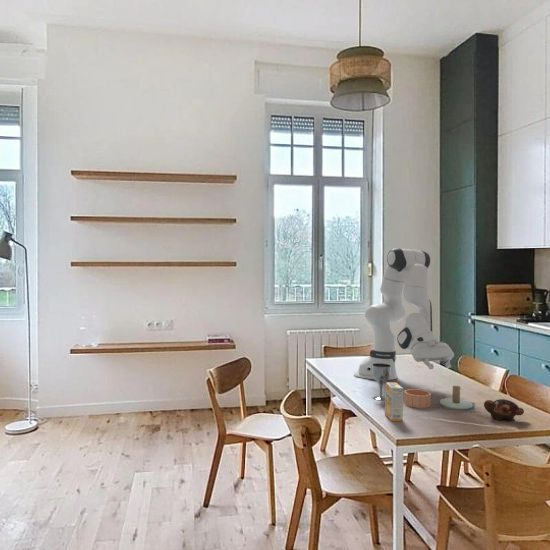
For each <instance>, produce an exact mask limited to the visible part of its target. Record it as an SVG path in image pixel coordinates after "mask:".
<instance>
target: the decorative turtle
mask: <svg viewBox="0 0 550 550" xmlns="http://www.w3.org/2000/svg"><path fill="white" fill-rule="evenodd" d="M483 408H484V409H485V410H486V412H488V413H489V414H490V416H491V417H493V418H494V419H495V420H496V421H498V422H500V421H503V420H504V419H505V420H506V421H508V422H513V420H514V419H515V417H516V416H522V415H524V412H525V410H524V408H522V407H519V405H518V404H517V403H515V402H513V401H512V400H510V399H504V398H500V399H499V398H498V399H496V400H492V399H487V400H485V401H484V403H483Z"/></svg>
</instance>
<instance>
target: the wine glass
mask: <svg viewBox="0 0 550 550" xmlns="http://www.w3.org/2000/svg"><path fill="white" fill-rule="evenodd" d="M372 370H373V376H374V378H375V379H376V380H375V381H376V383H378V386H379V395H375V396H372V399H373V400H375V401H379V402H380V401H381V402H382V401H384V402H385V395H383V393H382V392H383V386H384V385H385V384H386V383H387V381H389V380H388V378H389V376H390V371H391V365H389V364H384V363H374V364H373V365H372Z"/></svg>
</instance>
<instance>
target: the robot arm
mask: <svg viewBox="0 0 550 550" xmlns="http://www.w3.org/2000/svg"><path fill="white" fill-rule="evenodd" d="M386 263H387V264H386V267H385V269H384V272H383V277H382V281H381V285H380V293H381V295H382V296H383V302H382V303H374V304H371V305H369V306H367V308H366V309H365V312H364V317H365V320H366V321H367V323H368V324H369V325H370V327H371V329H372V334H373V348H371V349H370V350H369V356H368V357H367V358H365V359H363V360H362V361H361V362H360V363H359V365H358V370H356V371H355V372H353V373H354V374H353V376H354V377H356V378H362V379H368V380H374V381H376V379H375V378H374V376H373V370H372V365H373V364H374V363H384V364H389V365H391V371H390V376H389V378H388V380H387V381H390V380H391V381H392V380H397V379H398V374H397V368H396V361H397V352H396V351H397V350H396V339H397V344H398V346H399V347H400V348H401V349H402V350H409V351H410V353H411V356H412V358H413V360H414V361H415V362H417V363H422V362H423V364H424V365H425V366H427V367H428V369H429V370H433V369H434V368H435V367H434V364H433V363H431V362H436V361H437V362H438V361H439V362H440V361H444V362H445V363H446V364H445V365H444V366H445V367H446V369H451V367H452V364H451V360H452V359H454V357H455V352H454V351H453V350H452V348H451V347H450V346H449V344H448V343H446V342H444V341H438V340H437V338H436V336H435V335H434V332H433V309H432V301H431V300H430V299H429V296H428V287H429V271H428V269H429V266H430V264H431V257H430V254H429V253H428V252H427V251H423V250H419V249H414V248H400V247H396V248H395V247H394V248H391V249H390V250H389V252H388V253H387V255H386ZM402 294H403V295H402ZM402 296H403V297H404V300H405V301H406V302H407V303H408V304H409V305H411V306H412V307H415V308H416V309H417V310H418V312H419V313H418V312H417V313H416V312H413V313H410V314H409V315H406V310H405V307H404V306H403V303H402ZM405 316H406V317H405ZM404 318H405V319H404ZM403 320H405V321H404V322H405V323H404V326H403V327H402V330H400V331H399V333H398V334H397V338H396V335H395V334H394V333H393V331H392V330H391V326H390V324H396V323H399V322H401V321H403Z"/></svg>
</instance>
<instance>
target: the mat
mask: <svg viewBox="0 0 550 550" xmlns="http://www.w3.org/2000/svg"><path fill="white" fill-rule="evenodd" d="M441 399H442V398H438V399H437V402H436V409H443V410H451V411H457V412H466V413H467V412H468V413H476V405H475V404H476V403H475V402H471V401H470V402H471V403H472V408H471V409H468V410H457V409H450V408H446V407H444V406H442V405H440V400H441Z"/></svg>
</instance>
